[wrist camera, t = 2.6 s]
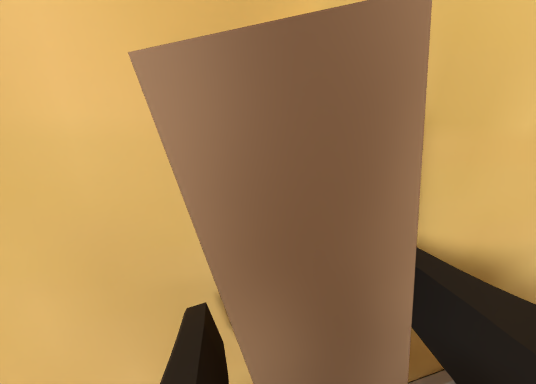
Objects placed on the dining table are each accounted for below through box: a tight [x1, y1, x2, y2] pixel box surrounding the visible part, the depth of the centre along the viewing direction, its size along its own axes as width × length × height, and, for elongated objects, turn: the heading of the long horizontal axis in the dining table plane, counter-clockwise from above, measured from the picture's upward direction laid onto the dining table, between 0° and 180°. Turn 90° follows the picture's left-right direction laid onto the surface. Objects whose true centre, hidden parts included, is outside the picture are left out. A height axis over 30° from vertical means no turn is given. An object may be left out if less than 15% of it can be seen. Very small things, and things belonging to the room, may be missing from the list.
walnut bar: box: [128, 0, 432, 384], centre depth 10 cm, size 4×16×4 cm, turn 11°
